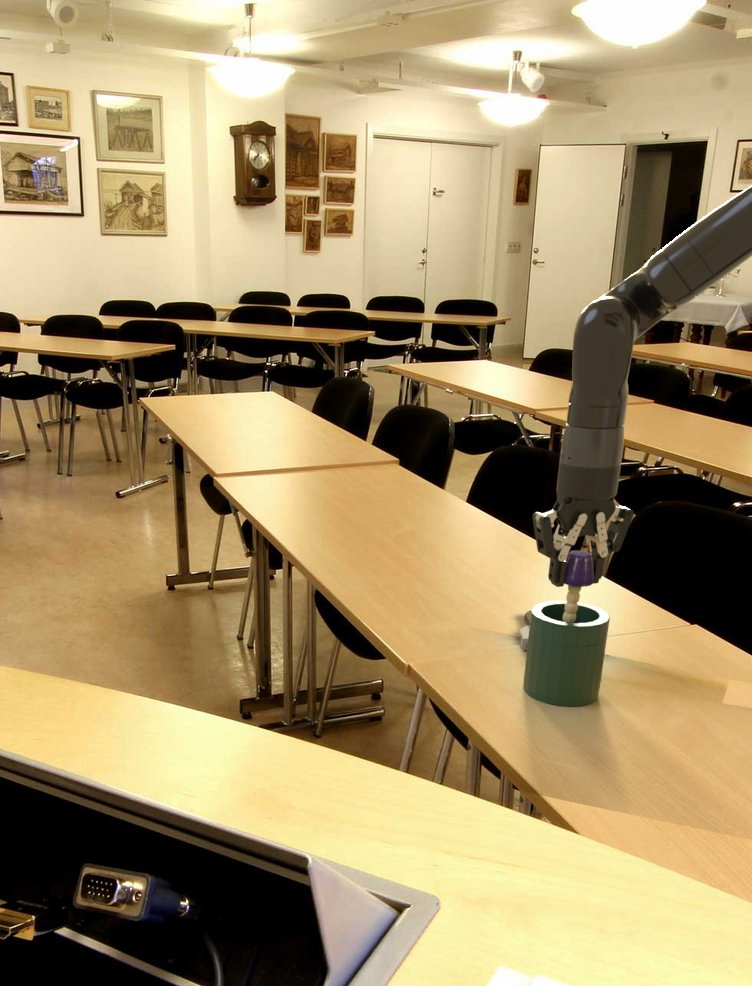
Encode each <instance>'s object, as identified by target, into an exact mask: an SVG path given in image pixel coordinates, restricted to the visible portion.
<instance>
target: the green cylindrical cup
mask: <svg viewBox="0 0 752 986" xmlns="http://www.w3.org/2000/svg"><path fill="white" fill-rule="evenodd" d="M566 602H567V600H550V601H549V600H548V601H544V602H540V603H538V604H537V603H536V604H535V605H534V606H533V607H532V608H531V609H530V610H531V618H530V627H529V636H528V645H527V650H526V654H525V655H526V656H525V663H524V673H523V685H522V688H523V691H524V692H525V693H526V694H527V695H528V696H529V697H530V698H532V699H535V700H537V701H539V702H542V703H544V704H548V705H554V706H558V707H560V706H561V707H580V706H586V705H590V704H592V703H594V702H595V701H596V700H597V699H598V697H599V692H600V688H601V682H602V674H603V668H604V661H605V654H606V647H607V639H608V633H609V627H610V619H611V617H610V614H609V613H608V612H607V611H605V610H604V609H603V608H600V607H598V606H595V605H592V604H589V603H584V602H579V601H578V602H577V603H578V609H577V612H576V620H575V622H574V623H567V622H563V614H564V612H565V604H566Z"/></svg>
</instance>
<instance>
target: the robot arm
mask: <svg viewBox="0 0 752 986" xmlns="http://www.w3.org/2000/svg"><path fill="white" fill-rule="evenodd" d="M751 257H752V185H751V186H749V187H747V188H746V189H744V190H743V191H741V192H739V193H738V194H736V195H735V196H733V197H731V198H730V199H729V200H727V201H726V202H724V203H723V204H721V205H720V206H718V207H717V208H715V209H713V210H712V211H711V212H709V213H708V214H707V215H705V216H703V217H702V218H701V219H699V220H698V221H696V222H695V223H694V224H692V225H691V226H690V227H688V228H687V229H686V230H684V231H683V232H682V233H681V234H679V235H678V236H676V237H675V238H674V239H673V240H672V241H670V242H669V243H668V244H666V245H665V246H664V247H662V249H660V250H659V251H657V252H656V253H655V254H654V255H652V256H651V257H650V259H648V260H647V261H646V262H645V263H644V264H643V266H641V268H640V269H639V270H637V271H636V272H634V273H633V274H631V275H630V276H628V277H627V278H626V279H624V280H622V281H621V282H620V283H619V284H617V285H616V286H614V287H613V288H612V289H610V290H609V291H607V292H606V293H605V294H603V295H602V296H600V297H599V298H598V299H596V300H593V301H592V302H590V303H589V304H588V305H586V307H584V308H583V310H581V312H580V314H579V315H578V317H577V320H576V322H575V326H574V327H575V328H574V332H573V342H572V360H571V361H572V362H571V363H572V365H571V366H572V368H571V376H572V380H571V387H570V391H569V397H568V403H567V404H568V405H567V413H566V421H565V427H564V432H563V436H562V439H561V447H560V454H559V462H558V463H559V464H558V465H559V466H558V471H557V481H556V490H555V491H556V501H555V503H554V505H553V507H552V509H551V510H548V511H545V512H539V511H535V512H534V513H532V523H533V530H534V536H535V537H534V538H535V541H536V542H535V543H536V550H537V552H538V553H539V554H540V555H543V556H545V557H547V558H548V559H549V567H548V574H547V578H548V580H549V581H550V583H551V584H552V585H553V586H555V587H556V588H558V587H559V588H563V587H564V586H565V584H564V580H565V572H566V564H567V561H565V560H566V558H567V556H568V554H569V553H570V551H571V548H572V547H574V546H575V545H576V543H577V540H578V538H580V537H583V536H585V538H586V539H587V541H588V542H587V543H588V548H589V551H590V554H591V556H592V561H593V571H594V583H593V584H592V585H595V584H599V582H600V580H601V579H602V577H603V574H604V565H605V559H606V557H608V555H609V554H611V553H618V552H619V551H620V550H621V548H622V545H623V543H624V540H625V538H626V535H627V533H628V530H629V527H630V525H631V523H632V520H633V518H634V515H635V512H634V510H633V509H630V508H629V507H626V506H623V505H616V503H615V497H616V496H617V494H618V489H619V481H620V475H621V466H622V459H623V452H624V445H625V423H626V415H627V409H628V401H629V384H628V378H629V374H630V368H631V362H632V356H633V350H634V345H635V341H636V340H637V339H638V338H640V337H641V336H643V335H644V334H645V333H647V332H648V330H650V329H651V328H652V327H654V326H655V325H656V324H658V323H659V322H660V321H662V320H664V318H665V317H666V316H668V315H669V314H671V313H672V312H674V311H676V310H678V309H680V308H682V307H684V306H685V305H687V304H688V303H690V302H691V301H694V300H695V298H696V297H699V296H700V295H701V294H703V293H705V291H707V290H708V289H709V288H711V287H712V286H714V285H715V284H716V283H718V282H720V281H721V280H722V279H723V278H725V277H726V276H727V275H729V274H730V273H731V272H733V271H734V270H735V269H737V268H738V267H740V266H741V265H743V264H744V263H745V262H746V261H748V260H749V259H750V258H751ZM609 520H610V522H609V525H608V527H607V526H606V524H607V522H608V521H609ZM555 521H556V522H557V527H556V529H555V532H554V533H553V528H554V527H555Z"/></svg>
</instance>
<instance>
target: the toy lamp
mask: <svg viewBox="0 0 752 986" xmlns="http://www.w3.org/2000/svg"><path fill="white" fill-rule="evenodd" d="M565 561H567V564H566V572H565V580H564V585H567V590H568V592H567V593H566V598H565V599H566V601H567V602H566V604H565V612H564V614H563V622H567V623H574V622H575V620H576V612H577V609H578V603H577V602H579V601H580V597H581V596H580V595H581V594H580V592H581V590H582V587H590V586H592V585H594V584H593V583H594V571H593V561H592V556H591V552H587V551H584V550H570V551H569V553H568V555H567V557H566V559H565Z"/></svg>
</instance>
